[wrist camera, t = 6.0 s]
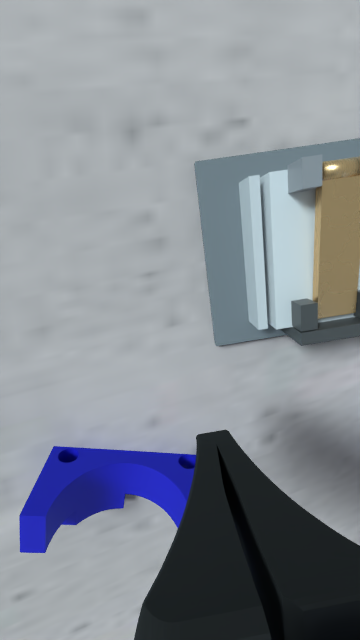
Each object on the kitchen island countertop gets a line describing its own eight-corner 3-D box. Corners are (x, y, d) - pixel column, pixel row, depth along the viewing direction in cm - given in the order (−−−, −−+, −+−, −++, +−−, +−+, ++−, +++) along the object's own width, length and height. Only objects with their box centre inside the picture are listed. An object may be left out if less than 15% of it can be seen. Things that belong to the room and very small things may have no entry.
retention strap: (358, 157, 15) (372, 153, 14) (347, 308, 18) (357, 313, 17) (314, 164, 15) (325, 160, 14) (310, 314, 18) (319, 320, 17)
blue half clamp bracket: (53, 489, 24) (20, 569, 18) (54, 444, 22) (19, 515, 17) (193, 495, 25) (203, 571, 19) (201, 453, 24) (215, 521, 18)
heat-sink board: (411, 133, 18) (495, 99, 13) (396, 313, 21) (458, 333, 17) (194, 164, 17) (206, 139, 13) (214, 343, 21) (230, 371, 16)
